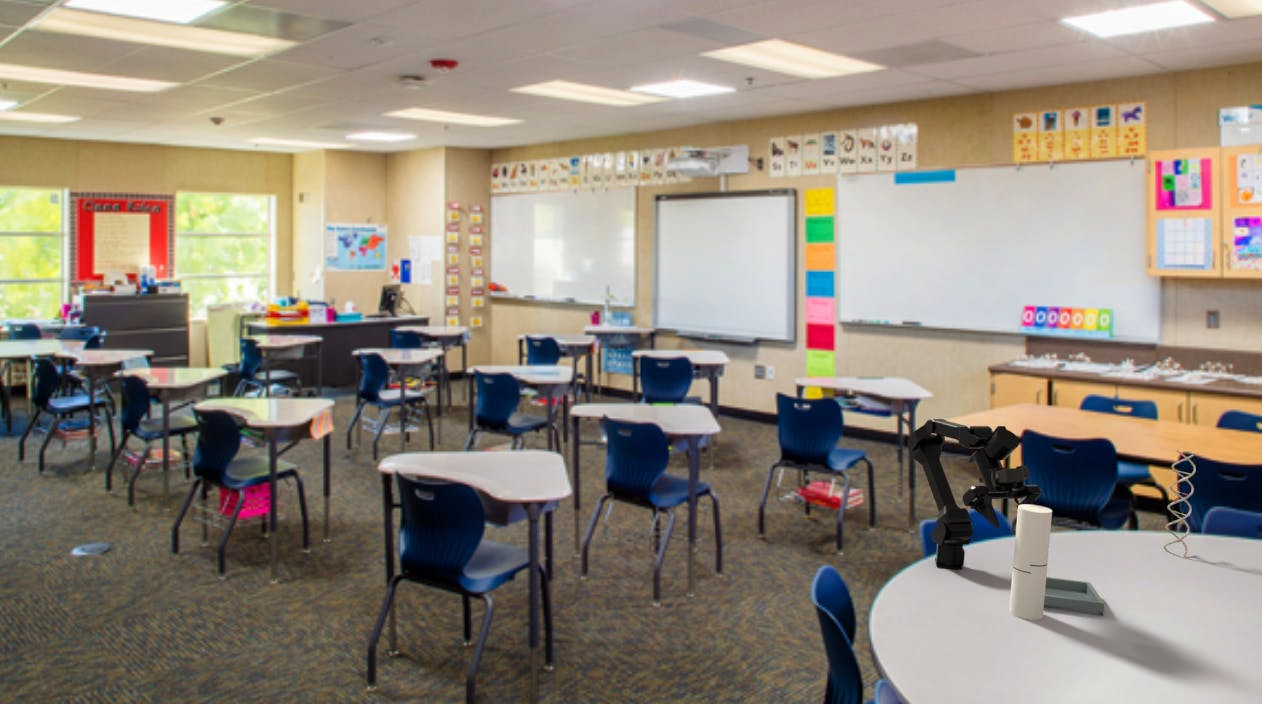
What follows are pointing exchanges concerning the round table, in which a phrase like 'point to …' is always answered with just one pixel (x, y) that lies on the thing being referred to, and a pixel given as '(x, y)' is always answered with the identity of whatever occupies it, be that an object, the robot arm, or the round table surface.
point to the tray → (1072, 596)
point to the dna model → (1180, 501)
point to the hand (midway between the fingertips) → (1015, 527)
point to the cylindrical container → (1030, 561)
